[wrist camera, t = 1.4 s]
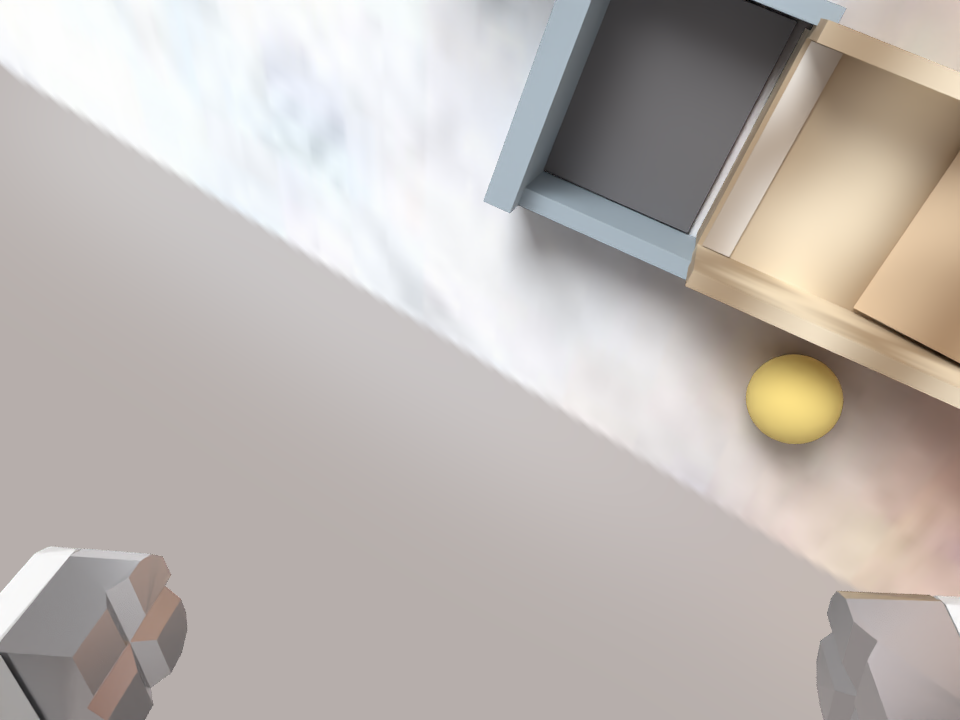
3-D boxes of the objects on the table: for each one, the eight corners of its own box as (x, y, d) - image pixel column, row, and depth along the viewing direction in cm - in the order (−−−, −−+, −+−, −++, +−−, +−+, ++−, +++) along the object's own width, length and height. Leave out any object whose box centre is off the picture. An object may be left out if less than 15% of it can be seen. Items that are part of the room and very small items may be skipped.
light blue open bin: (834, 7, 29) (852, 8, 24) (698, 258, 34) (693, 295, 30) (611, -82, 30) (590, -96, 25) (514, 176, 35) (483, 201, 31)
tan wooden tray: (1227, 183, 27) (1342, 226, 22) (1038, 395, 32) (1097, 470, 27) (811, 16, 29) (828, 19, 24) (692, 242, 34) (685, 286, 29)
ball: (855, 363, 34) (869, 404, 31) (807, 430, 36) (815, 475, 33) (772, 326, 34) (777, 362, 31) (729, 394, 36) (729, 436, 33)
